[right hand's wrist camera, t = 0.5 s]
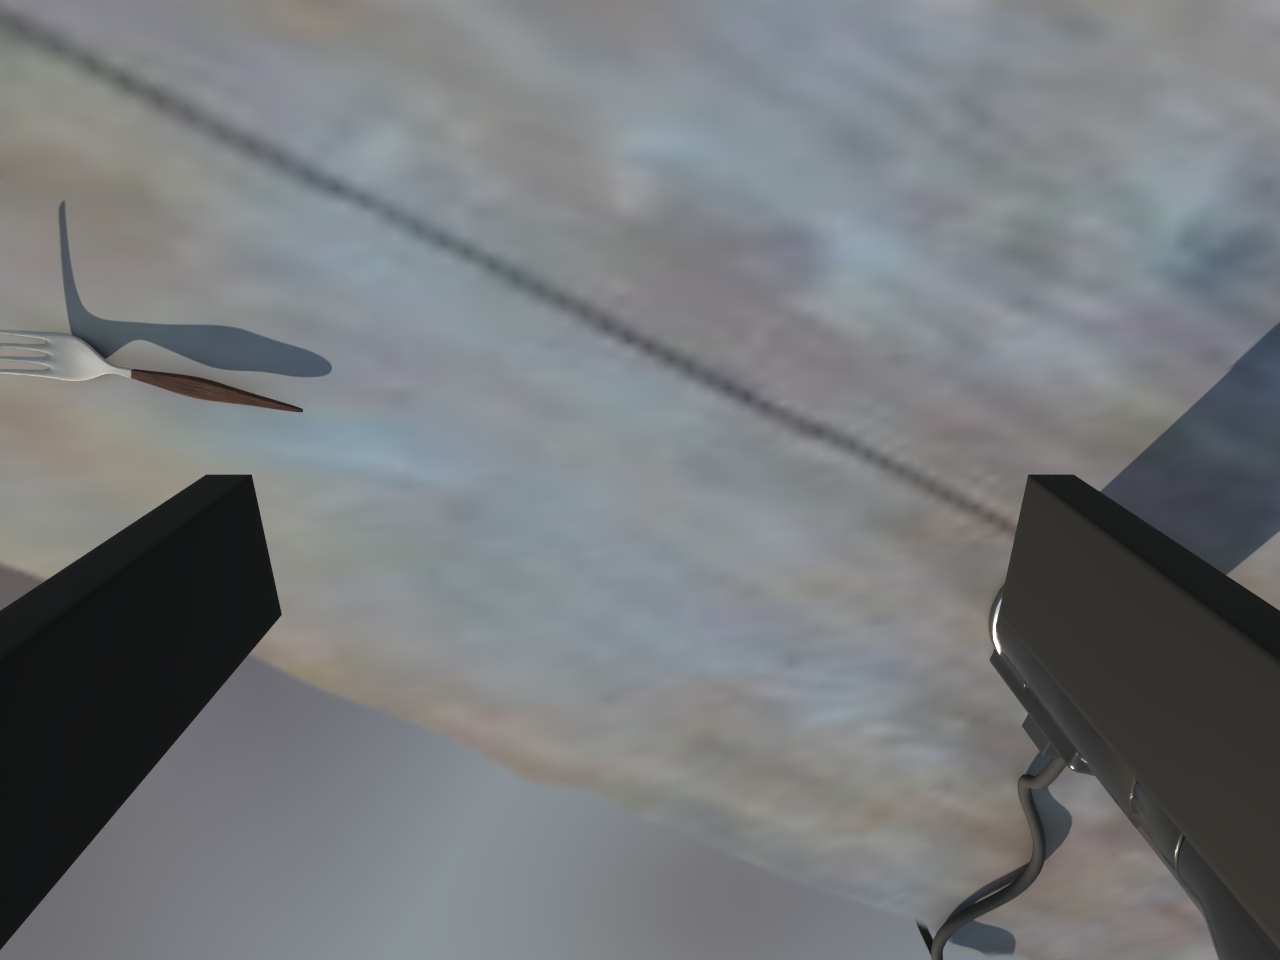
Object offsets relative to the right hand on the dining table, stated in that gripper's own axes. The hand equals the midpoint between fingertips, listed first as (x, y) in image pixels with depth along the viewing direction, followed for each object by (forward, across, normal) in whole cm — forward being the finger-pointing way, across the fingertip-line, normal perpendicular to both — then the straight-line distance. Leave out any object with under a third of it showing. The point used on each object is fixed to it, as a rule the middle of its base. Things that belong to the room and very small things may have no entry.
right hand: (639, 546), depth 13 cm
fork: (+28, -26, -4) cm, 39 cm away
